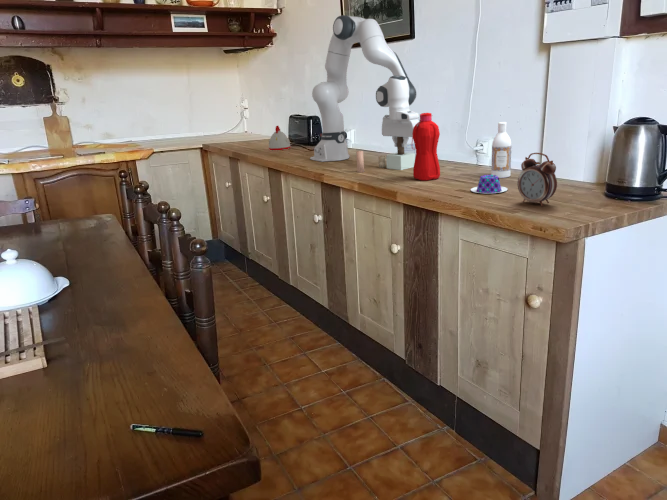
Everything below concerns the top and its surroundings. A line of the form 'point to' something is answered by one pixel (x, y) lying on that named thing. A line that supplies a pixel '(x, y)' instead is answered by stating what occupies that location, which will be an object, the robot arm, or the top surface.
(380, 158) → the short pin
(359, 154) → the medium pin
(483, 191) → the pudding
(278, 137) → the kitchen timer
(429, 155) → the water bottle
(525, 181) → the alarm clock
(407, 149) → the medicine box
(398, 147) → the long pin
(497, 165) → the bath foam
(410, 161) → the hole block
